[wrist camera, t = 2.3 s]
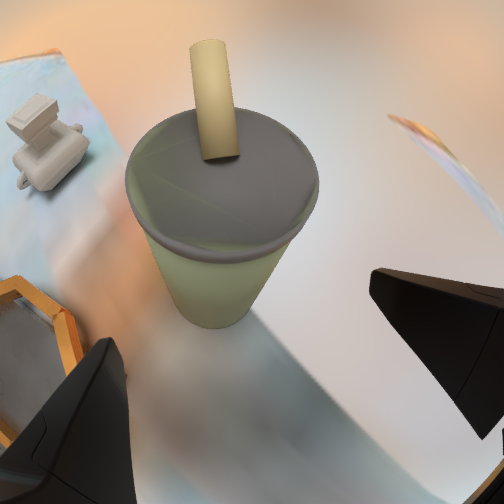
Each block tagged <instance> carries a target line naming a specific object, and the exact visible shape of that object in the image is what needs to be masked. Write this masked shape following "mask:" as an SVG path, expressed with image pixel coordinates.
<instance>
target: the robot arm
mask: <svg viewBox="0 0 504 504" xmlns="http://www.w3.org/2000/svg"><path fill="white" fill-rule="evenodd" d="M369 293H370V296H371V297H372V299H373V300H374V302H375V303H376V304H377V306H378V307H379V309H380V310H381V311H382V313H383V314H384V316H385V317H386V318H387V320H388V321H389V322H390V324H391V325H392V326H393V328H394V329H395V330H396V331H397V332H398V334H399V335H400V336H401V337H402V338H403V339H404V341H405V342H406V343H407V344H408V345H409V347H410V348H411V349H412V350H413V351H414V352H415V354H416V355H417V356H418V357H419V358H420V360H421V361H422V362H423V363H424V365H425V366H426V367H427V368H428V370H429V371H430V372H431V373H432V375H433V376H434V377H435V378H436V380H437V381H438V382H439V384H440V385H441V386H442V387H443V389H444V390H445V391H446V392H447V394H448V395H449V396H450V398H451V399H452V400H453V401H454V403H455V405H456V406H457V407H458V409H459V410H460V411H461V413H462V414H463V415H464V417H465V418H466V419H467V421H468V422H469V424H470V425H471V426H472V428H473V429H474V430H475V432H476V433H477V435H478V436H479V438H480V439H481V440H483V439H484V438H485V437H486V436H487V435H488V433H489V432H490V431H491V430H492V429H493V428H494V427H495V425H496V424H497V423H498V422H499V421H500V419H501V418H502V417H503V416H504V289H503V288H494V287H488V286H481V285H475V284H470V283H463V282H459V281H453V280H448V279H441V278H436V277H431V276H426V275H420V274H414V273H409V272H403V271H397V270H391V269H386V268H379V269H376V270H373V271H372V273H371V277H370V286H369ZM502 435H503V455H504V428H503V429H502ZM0 504H137V500H136V493H135V486H134V478H133V469H132V459H131V447H130V432H129V408H128V398H127V390H126V382H125V373H124V363H123V359H122V356H121V354H120V352H119V350H118V348H117V346H116V344H115V342H114V340H113V339H112V338H111V337H108V338H102V339H99V340H98V341H97V342H96V344H95V345H94V346H93V347H92V348H91V349H90V350H89V351H88V353H87V354H86V355H85V356H84V357H83V358H82V359H81V361H80V362H79V363H78V364H77V365H76V366H75V368H74V369H73V370H72V371H71V372H70V373H69V375H68V376H67V377H66V378H65V379H64V381H63V382H62V383H61V384H60V385H59V387H58V388H57V389H56V390H55V391H54V393H53V394H52V395H51V396H50V398H49V399H48V400H47V401H46V403H45V404H44V405H43V406H42V408H41V410H39V411H38V413H37V414H36V415H35V416H34V418H33V419H32V420H31V421H30V423H29V424H28V425H27V426H26V428H25V429H24V430H23V431H22V432H21V433H20V434H19V436H18V437H17V438H16V439H15V440H14V441H13V442H12V443H11V445H10V446H9V447H8V448H7V449H6V450H5V451H4V452H3V454H2V455H1V456H0ZM463 504H504V459H503V460H502V461H501V462H500V464H499V465H498V466H497V467H496V468H495V470H494V471H493V472H492V473H491V474H490V476H489V477H488V478H487V479H486V480H485V481H484V482H483V483H482V484H481V486H480V487H479V488H478V489H477V490H476V491H475V492H474V493H473V494H472V495H471V496H470V497H469V498H468V499H467V500H466V501H465V502H464V503H463Z"/></svg>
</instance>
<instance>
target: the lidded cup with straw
mask: <svg viewBox="0 0 504 504" xmlns="http://www.w3.org/2000/svg"><path fill="white" fill-rule="evenodd" d="M189 50H190V59H191V70H192V79H193V88H194V96H195V105H196V109H192V110H188V111H184V112H182V113H179V114H176V115H174V116H171V117H170V118H167V119H165V120H164V121H162V122H160V123H159V124H157V125H156V126H154V127H153V128H152V129H151V130H149V131H148V132H147V133H146V134H145V135H144V136H143V137H142V139H141V140H140V141H139V142H138V144H137V145H136V146H135V148H134V150H133V151H132V153H131V155H130V158H129V160H128V163H127V168H126V172H125V186H126V193H127V196H128V199H129V202H130V205H131V208H132V210H133V213H134V215H135V217H136V219H137V221H138V222H139V224H140V225H141V227H142V228H143V230H144V232H145V235H146V237H147V240H148V242H149V245H150V247H151V250H152V252H153V255H154V257H155V259H156V262H157V264H158V266H159V269H160V271H161V273H162V276H163V278H164V280H165V282H166V284H167V287H168V289H169V291H170V293H171V295H172V298H173V300H174V302H175V304H176V306H177V308H178V309H179V311H180V312H181V314H182V315H183V316H184V317H185V318H186V319H187V320H189V321H190V322H192V323H193V324H195V325H198V326H200V327H204V328H209V329H219V328H225V327H228V326H231V325H233V324H235V323H236V322H238V321H239V320H240V319H242V318H243V317H244V316H245V315H246V313H247V312H248V310H249V309H250V307H251V306H252V304H253V303H254V301H255V299H256V298H257V296H258V294H259V293H260V291H261V290H262V288H263V286H264V285H265V283H266V282H267V280H268V278H269V277H270V275H271V273H272V272H273V270H274V268H275V267H276V265H277V264H278V262H279V260H280V258H281V257H282V255H283V254H284V252H285V250H286V249H287V247H288V245H289V243H290V242H291V240H292V239H293V238H294V237H295V236H296V235H297V234H298V233H299V232H300V230H301V229H302V228H303V226H304V224H305V223H306V221H307V219H308V218H309V216H310V215H311V213H312V211H313V209H314V207H315V204H316V201H317V198H318V193H319V177H318V171H317V167H316V164H315V161H314V160H313V157H312V155H311V153H310V152H309V150H308V149H307V147H306V146H305V145H304V143H303V142H302V141H301V140H300V139H299V138H298V137H297V136H296V135H295V134H294V133H293V132H292V131H290V130H289V129H288V128H287V127H285V126H284V125H282V124H281V123H279V122H277V121H276V120H274V119H272V118H270V117H267V116H265V115H262V114H260V113H257V112H254V111H250V110H247V109H241V108H236V107H234V104H233V96H232V89H231V82H230V74H229V67H228V60H227V52H226V45H225V43H224V42H223V41H221V40H215V39H211V40H203V41H199V42H197V43H195V44H193V45H192V46H191V47H190V49H189Z"/></svg>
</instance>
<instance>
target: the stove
mask: <svg viewBox="0 0 504 504" xmlns="http://www.w3.org/2000/svg"><path fill="white" fill-rule="evenodd" d="M23 296H24V297H25V298H26V299H28V300H29V301H30V302H31V303H32V304H34V305H35V306H36V307H37V308H39V309H40V310H41V311H42V312H44V313H45V314H46V315H48V316H49V317H50V318H52V320H53V325H54V328H53V327H52V326H51V325H50V324H48V323H47V322H46V321H44V320H43V319H42V318H41V317H39V316H38V315H37V314H36V313H34V312H33V311H32V310H31V309H30V308H28V307H27V306H26V305H25V304H24V303H22V302H21V301H20V300H19V299H18V298H21V297H23ZM70 314H71V312H70V311H68V310H67V309H65V308H64V307H63V306H61V305H60V304H58V303H57V302H56V301H54V300H53V299H51V298H50V297H49V296H47V295H46V294H45V293H43V292H42V291H41V290H39V289H38V288H37V287H35V286H34V285H33V284H32V283H30V282H29V281H27V280H26V279H25V278H23V277H22V276H20V275H19V276H18V275H15V276H13V277H10V278H8V279H6V280H4V281H1V282H0V456H1V455H2V454H3V452H4V451H5V450H6V449H7V448H8V447H9V446H10V445H11V443H12V442H13V441H14V440H15V439H16V438H17V437H18V436H19V434H20V433H21V432H22V431H23V430H24V429H25V428H26V426H27V425H28V424H29V423H30V421H31V420H32V419H33V418H34V416H35V415H36V414H37V413H38V411H39V410H41V408H42V406H43V405H44V404H45V403H46V401H47V400H48V399H49V398H50V396H51V395H52V394H53V393H54V391H55V390H56V389H57V388H58V387H59V385H60V384H61V383H62V382H63V381H64V379H65V378H66V377H67V376H68V375H69V373H70V372H71V371H72V370H73V369H74V368H75V366H76V365H77V364H78V363H79V362H80V361H81V359H82V358H83V357H84V356H85V355H86V354H87V353H88V351H86V350H85V349H83V348H82V347H81V343H80V340H79V336H78V332H77V328H76V323H75V319H74V316H72V315H70ZM126 376H127V375H126V374H125V379H126Z"/></svg>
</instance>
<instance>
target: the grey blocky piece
mask: <svg viewBox="0 0 504 504" xmlns="http://www.w3.org/2000/svg"><path fill="white" fill-rule="evenodd" d="M57 112H59V109H58V104H57V100H55V99H52V98H49V97H46V96H43V95H40V94H35V95H34V96H33V97H32V98H30V99H29V100H28V101H27V102H26V103H25V104H23V105H22V106H21V107H20V108H19V109H18V110H17V111H16V112H14V113H13V114H12V115H11V116H10V117H9V118H8V119H7V120H6V123H7V125H8V126H9V128H10V129H11V130H12V131H13V132H14V133H15V134H16V135H17V136H19V137H20V138H21V139H22V140H23V141H24V142H25V144H24V145H23V146H22V147H21V148H20V149H19V150H18V151H17V152H16V153H15V154H14V155H13V163H14V165H15V166H16V168H17V169H18V170H19V171H20V172H21V175H20V176H19V178H18V181H17V187H18V188H19V189H20V190H22V189H25V188H26V187H28V186H29V185H30V184H32V185H33V186H34V187H35V188H36V189H37V190H38V191H47V190H50V191H51V190H52V189H53V188H54V187H55V186H56V185H57V184H58V183H59V182H60V181H61V180H62V179H63V178H64V177H65V176H66V175H67V174H68V173H69V172H70V171H71V170H72V169H73V168H74V167H75V166H76V165H77V164H78V163H79V162H80V161H81V160H82V157H83V155H84V153H85V152H86V150H87V148H88V145H89V144H90V142H89V140H88V139H87V138H86V137H85V136H84V135H82V134H81V133H82V131H83V127H82V125H80V124H75V125H73V126H71V127H69V126H67V125H65V124H64V123H62V122H60V121H59V120H57V118H58V116H57V114H56V113H57ZM25 178H27V180H26V181H24V180H25Z"/></svg>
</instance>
